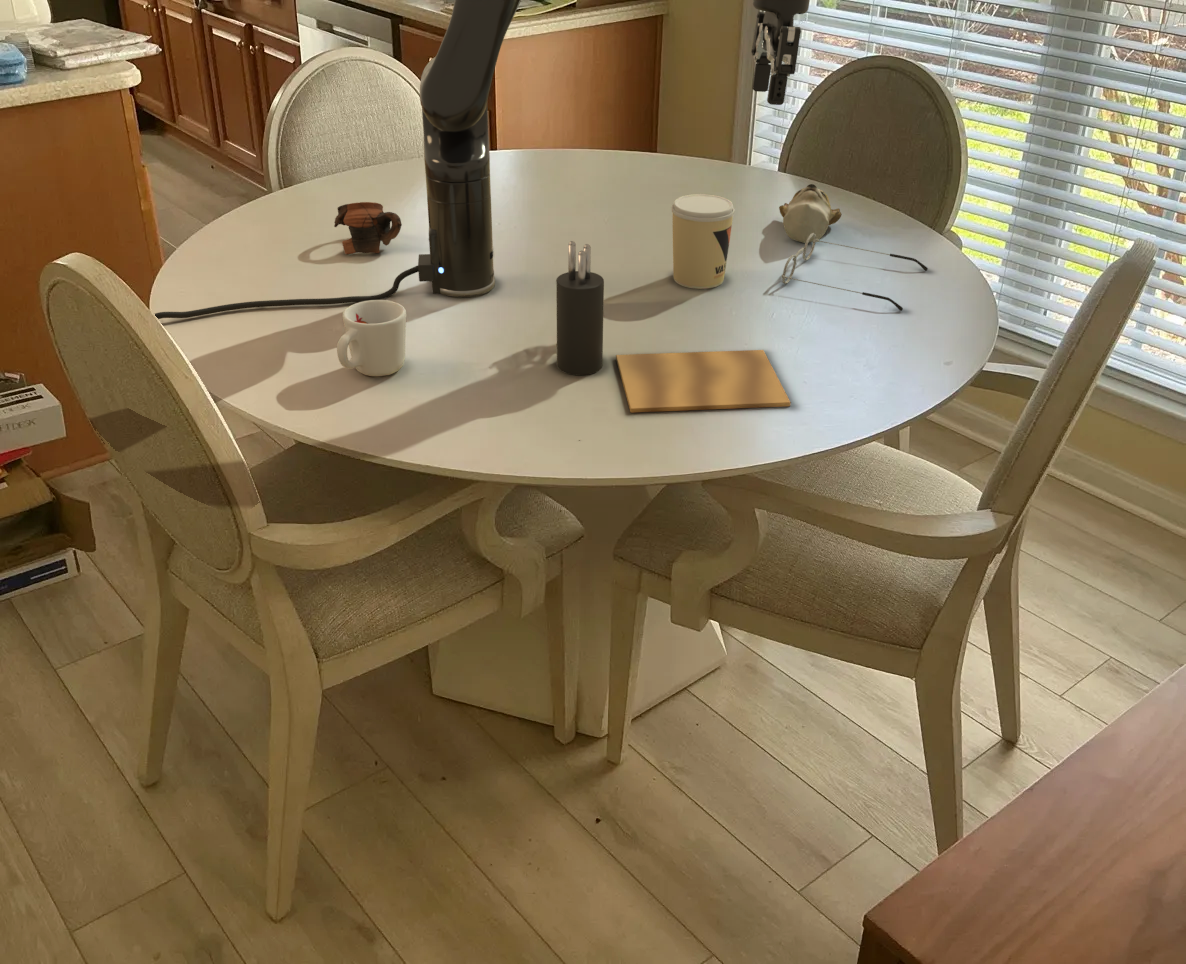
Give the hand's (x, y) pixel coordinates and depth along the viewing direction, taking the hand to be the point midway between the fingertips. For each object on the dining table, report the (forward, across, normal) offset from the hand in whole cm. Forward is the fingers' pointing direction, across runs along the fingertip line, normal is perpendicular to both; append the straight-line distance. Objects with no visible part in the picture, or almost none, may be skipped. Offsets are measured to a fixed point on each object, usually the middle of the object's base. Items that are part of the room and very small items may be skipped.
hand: (767, 97), depth 163 cm
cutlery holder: (+31, +25, -27) cm, 48 cm away
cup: (+33, +24, -54) cm, 68 cm away
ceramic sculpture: (+26, -21, +16) cm, 37 cm away
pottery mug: (+31, -22, -56) cm, 68 cm away
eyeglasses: (+27, 0, +18) cm, 32 cm away
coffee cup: (+28, -3, -6) cm, 29 cm away
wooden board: (+30, +31, -12) cm, 45 cm away
